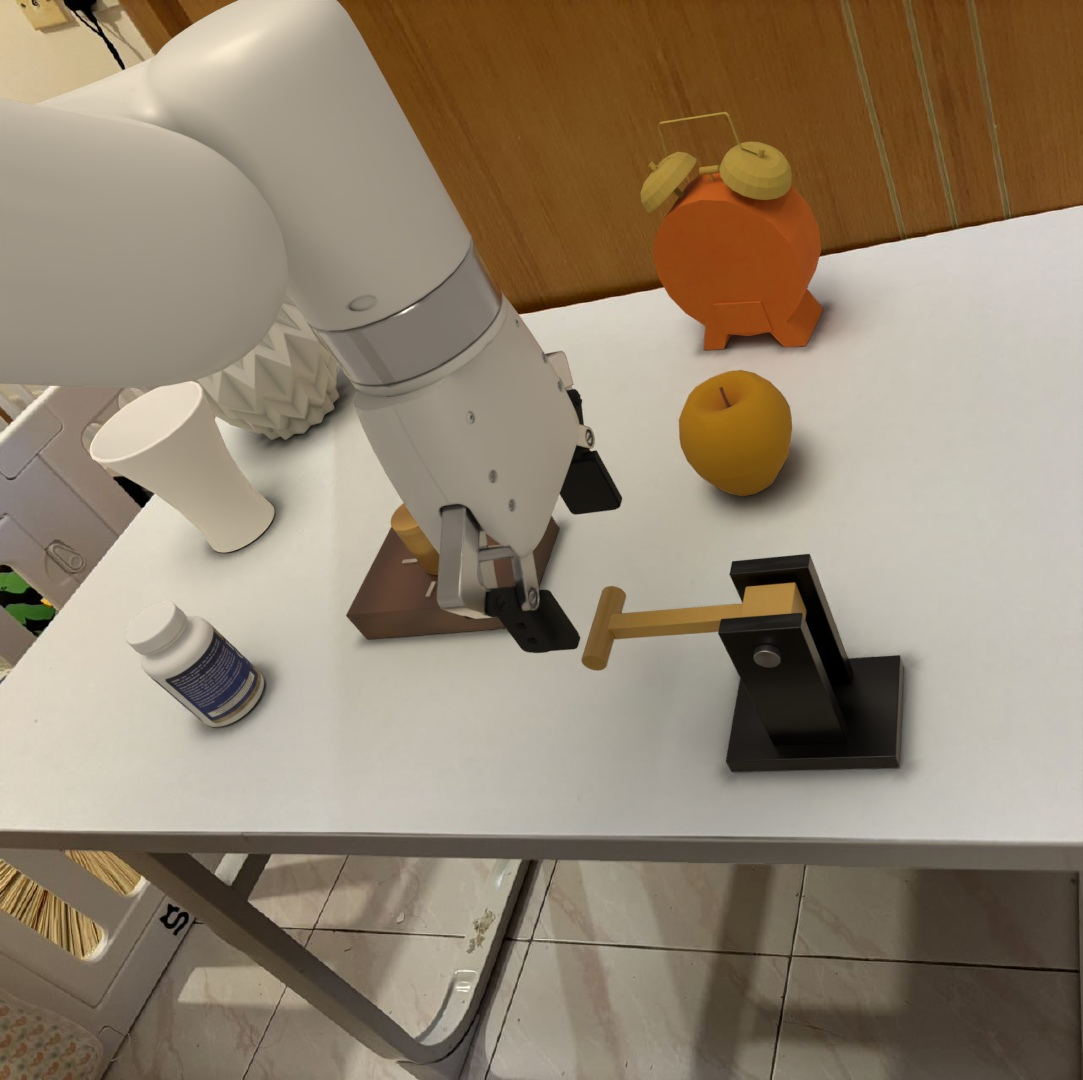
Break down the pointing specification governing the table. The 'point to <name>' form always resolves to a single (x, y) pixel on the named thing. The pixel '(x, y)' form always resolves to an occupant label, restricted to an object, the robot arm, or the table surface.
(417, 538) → the dial knob
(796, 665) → the handle bracket
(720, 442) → the apple
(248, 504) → the cup
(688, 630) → the door handle
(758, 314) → the alarm clock
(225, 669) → the pill bottle
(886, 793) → the table surface
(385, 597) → the brown dial base
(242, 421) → the vase
